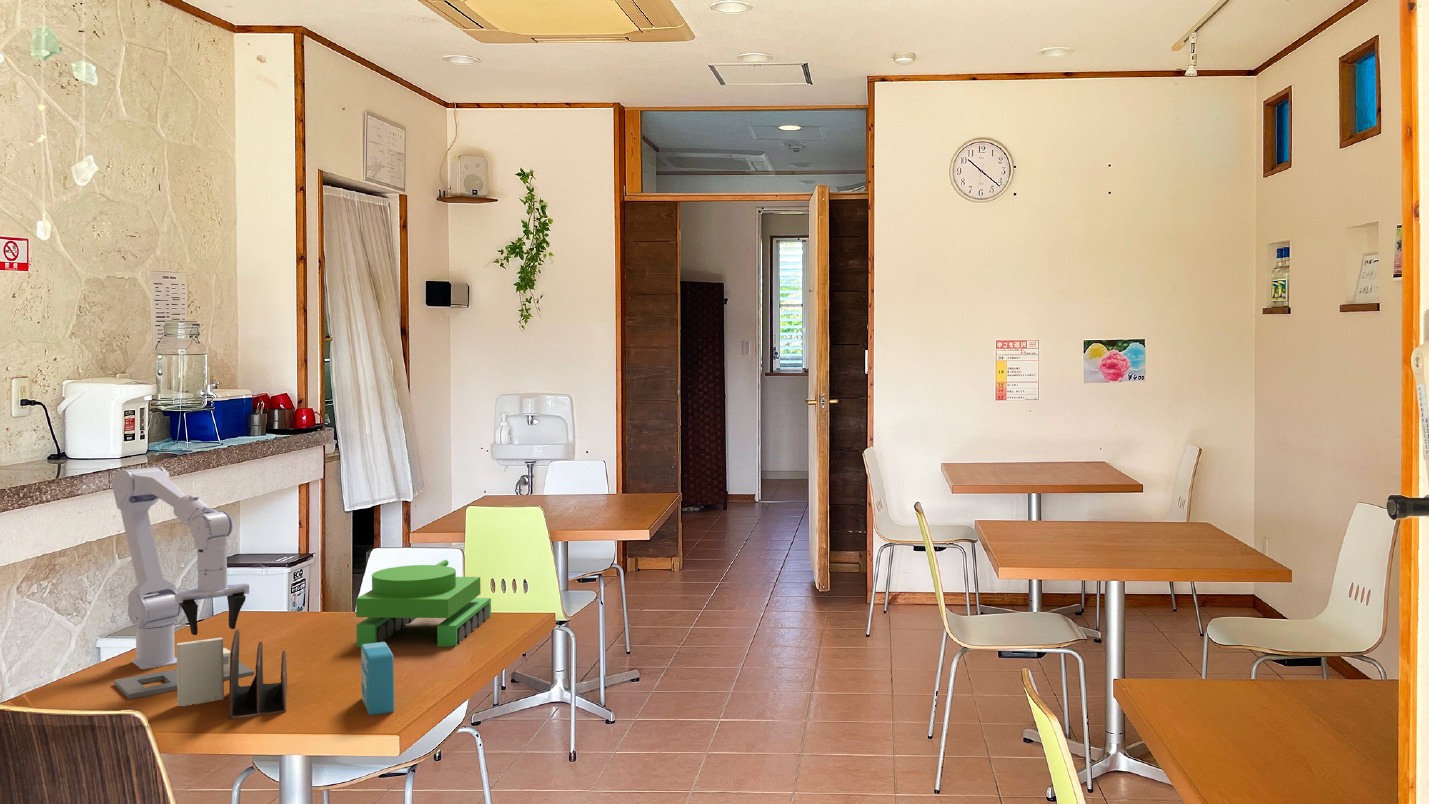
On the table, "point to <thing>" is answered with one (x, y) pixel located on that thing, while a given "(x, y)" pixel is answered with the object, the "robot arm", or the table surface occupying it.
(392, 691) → the data package
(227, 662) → the plug
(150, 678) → the jack panel
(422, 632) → the table surface
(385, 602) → the tank
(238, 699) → the letter holder
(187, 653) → the external hard drive
